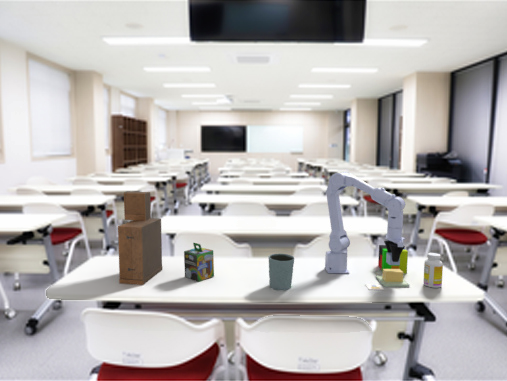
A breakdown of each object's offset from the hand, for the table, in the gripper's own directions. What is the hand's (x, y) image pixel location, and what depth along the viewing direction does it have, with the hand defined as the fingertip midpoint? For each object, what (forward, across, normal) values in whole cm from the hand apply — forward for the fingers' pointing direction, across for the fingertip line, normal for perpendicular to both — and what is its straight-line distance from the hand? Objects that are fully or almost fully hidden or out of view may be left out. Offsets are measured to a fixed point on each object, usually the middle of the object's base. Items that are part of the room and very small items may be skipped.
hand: (393, 259), depth 152 cm
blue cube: (+2, 0, 0) cm, 2 cm away
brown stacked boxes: (+10, +5, +105) cm, 106 cm away
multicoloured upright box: (+10, +4, +80) cm, 81 cm away
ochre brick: (+8, 0, 0) cm, 8 cm away
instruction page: (+9, -6, +9) cm, 14 cm away
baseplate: (+9, 0, 0) cm, 9 cm away
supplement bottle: (+10, -3, -15) cm, 18 cm away
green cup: (+10, -6, +46) cm, 47 cm away
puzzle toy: (+10, +17, -6) cm, 21 cm away
